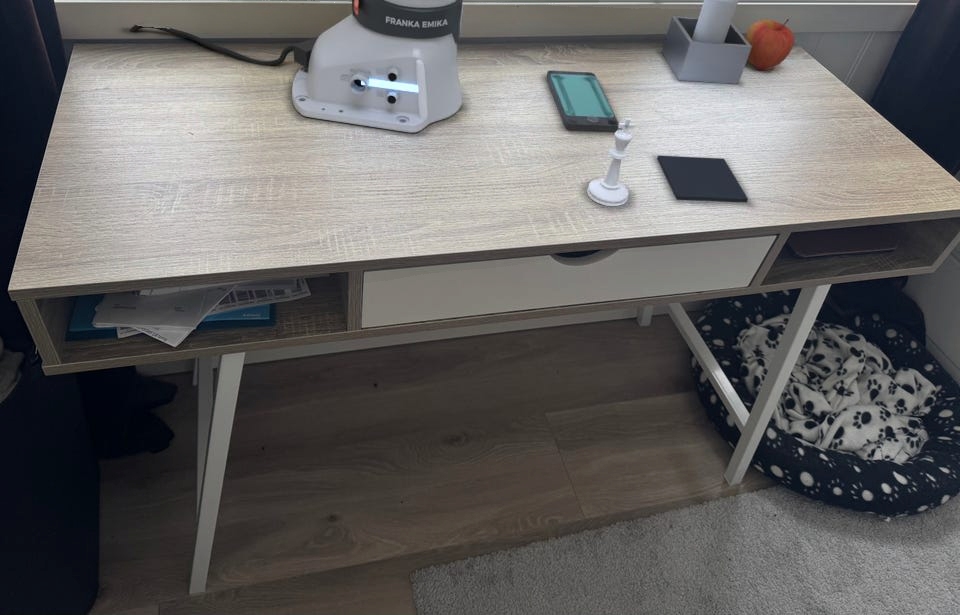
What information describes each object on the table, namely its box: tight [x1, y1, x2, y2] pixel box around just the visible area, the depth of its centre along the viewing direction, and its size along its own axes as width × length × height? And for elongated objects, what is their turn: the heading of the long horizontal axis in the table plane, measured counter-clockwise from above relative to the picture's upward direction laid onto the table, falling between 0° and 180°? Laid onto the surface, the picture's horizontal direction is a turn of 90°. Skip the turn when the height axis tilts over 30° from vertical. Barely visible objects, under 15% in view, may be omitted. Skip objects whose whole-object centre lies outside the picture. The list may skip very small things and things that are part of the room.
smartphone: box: [545, 70, 620, 133], centre depth 103 cm, size 7×1×15 cm
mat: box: [656, 155, 749, 203], centre depth 92 cm, size 9×9×1 cm
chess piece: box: [586, 117, 635, 207], centre depth 84 cm, size 5×5×10 cm
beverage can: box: [692, 0, 740, 43], centre depth 112 cm, size 5×5×12 cm
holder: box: [661, 15, 752, 85], centre depth 114 cm, size 10×10×6 cm
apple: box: [744, 18, 795, 71], centre depth 116 cm, size 7×7×8 cm
